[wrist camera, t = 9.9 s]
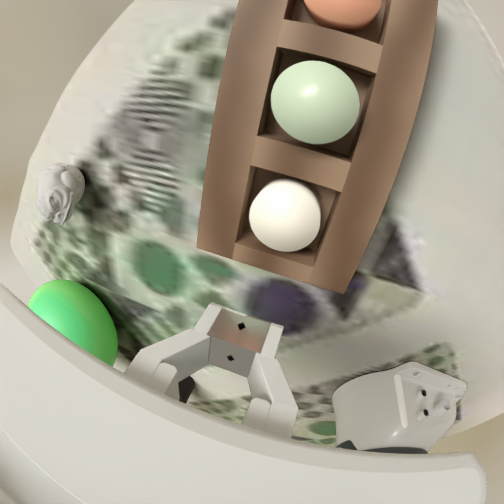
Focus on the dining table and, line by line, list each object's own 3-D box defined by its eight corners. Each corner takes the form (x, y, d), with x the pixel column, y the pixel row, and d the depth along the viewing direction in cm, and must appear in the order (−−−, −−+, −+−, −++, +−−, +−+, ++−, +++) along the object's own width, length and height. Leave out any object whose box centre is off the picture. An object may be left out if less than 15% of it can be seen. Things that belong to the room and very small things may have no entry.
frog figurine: (87, 216, 29) (47, 243, 24) (59, 175, 27) (18, 196, 22) (107, 187, 26) (61, 214, 21) (76, 143, 24) (29, 161, 19)
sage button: (362, 80, 13) (368, 76, 11) (343, 148, 16) (346, 155, 14) (286, 59, 14) (280, 52, 12) (271, 127, 16) (262, 131, 14)
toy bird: (137, 357, 44) (96, 419, 31) (70, 316, 45) (28, 365, 33) (129, 287, 34) (62, 367, 21) (51, 244, 35) (-12, 297, 23)
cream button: (329, 187, 19) (329, 198, 17) (310, 243, 21) (307, 260, 19) (265, 168, 19) (256, 177, 17) (252, 225, 22) (243, 239, 20)
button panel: (421, -1, 10) (439, -19, 6) (342, 262, 24) (343, 294, 20) (271, -39, 11) (258, -64, 8) (216, 223, 25) (196, 247, 21)
